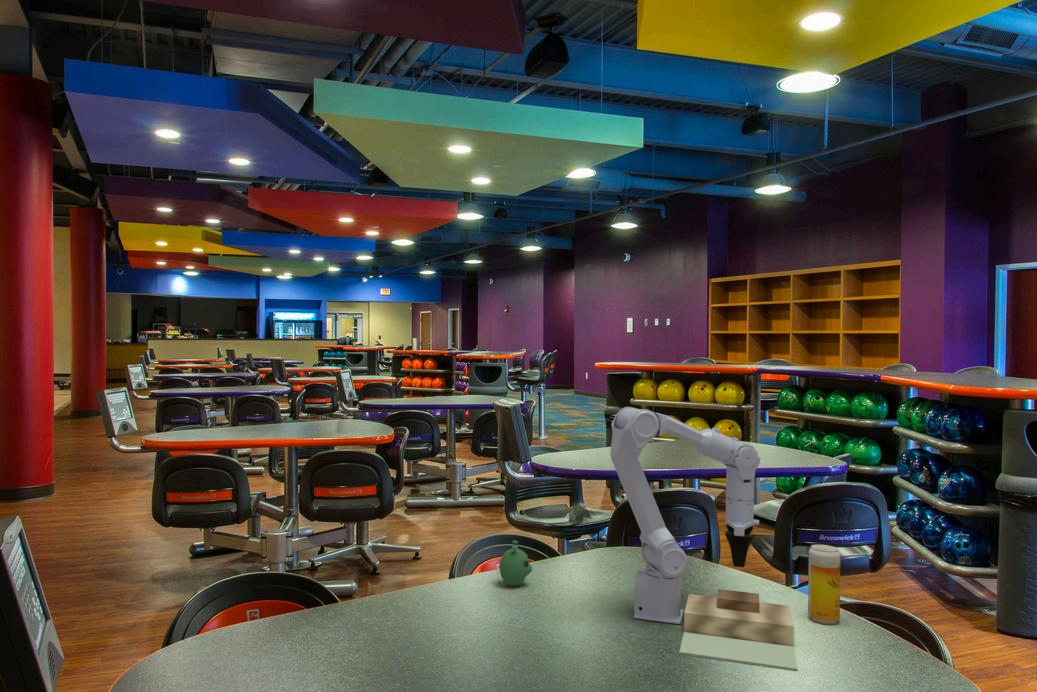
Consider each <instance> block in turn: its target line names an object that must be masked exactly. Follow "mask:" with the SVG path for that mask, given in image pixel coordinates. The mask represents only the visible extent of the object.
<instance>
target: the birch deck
mask: <svg viewBox="0 0 1037 692" xmlns="http://www.w3.org/2000/svg"><path fill="white" fill-rule="evenodd" d="M792 615H793V614H792V609H791V606H790V605H787V604H778V603H769V602H763V601H762V602H760V601H759V613H752V612H744V611H736V610H728V609H720V608H717V596H712V595H711V596H709V595H704V594H703V595H702V594H695V593H688V597H687V601H686V605H685V609H684V613H683V617H684V618H683V623H684V624H683V629H684V630H683V633H684V632H687V633H695V634H702V635H709V636H717V637H724V638H732V639H739V640H747V641H754V642H761V643H769V644H776V645H784V646H791V647H794V646H795V645H794V637H795V636H794V634H795V633H794V632H795V631H794V630H795V629H794V627H795V626H794V620H793V616H792Z"/></svg>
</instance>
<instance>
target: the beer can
mask: <svg viewBox="0 0 1037 692" xmlns="http://www.w3.org/2000/svg"><path fill="white" fill-rule="evenodd" d="M807 577H808V582H807V583H808V585H807V587H808V589H807V590H808V591H807V592H808V593H807V595H808V597H807V615H808V617H810V620H812V621H813V622H815V623H817V622H818V624H821V623H822V624H821V625H836V624H837V623H838V621H840V618H841V553H840V551H839V548H838V547H836V546H832V545H828V544H811V545H810V548H809V549H808V576H807Z"/></svg>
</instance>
